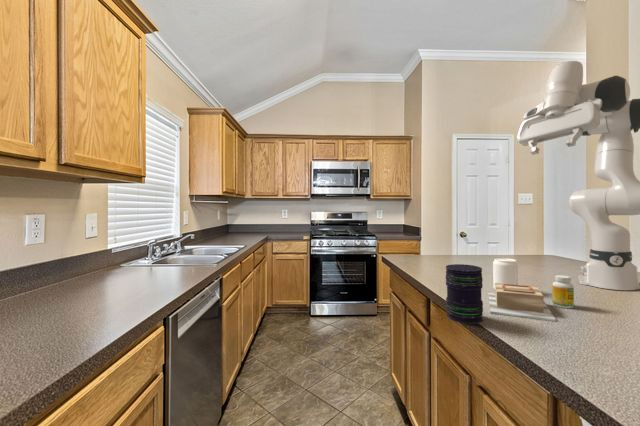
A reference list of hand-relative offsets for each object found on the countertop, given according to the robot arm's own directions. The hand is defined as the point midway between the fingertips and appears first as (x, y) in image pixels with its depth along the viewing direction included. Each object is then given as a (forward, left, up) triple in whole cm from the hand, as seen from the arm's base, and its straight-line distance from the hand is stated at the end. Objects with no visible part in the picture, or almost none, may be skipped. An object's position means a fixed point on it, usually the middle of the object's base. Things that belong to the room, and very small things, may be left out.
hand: (551, 149), depth 88 cm
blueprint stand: (-7, -8, -49) cm, 50 cm away
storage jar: (+11, -23, -49) cm, 56 cm away
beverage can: (-26, -10, -49) cm, 56 cm away
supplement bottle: (-13, +5, -49) cm, 51 cm away
